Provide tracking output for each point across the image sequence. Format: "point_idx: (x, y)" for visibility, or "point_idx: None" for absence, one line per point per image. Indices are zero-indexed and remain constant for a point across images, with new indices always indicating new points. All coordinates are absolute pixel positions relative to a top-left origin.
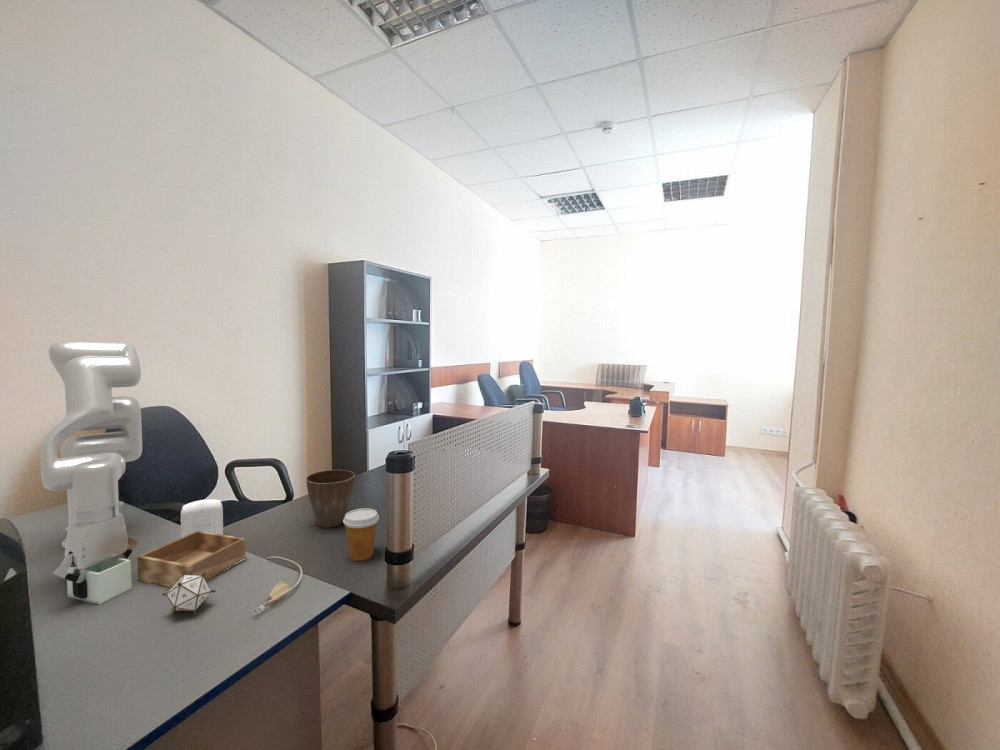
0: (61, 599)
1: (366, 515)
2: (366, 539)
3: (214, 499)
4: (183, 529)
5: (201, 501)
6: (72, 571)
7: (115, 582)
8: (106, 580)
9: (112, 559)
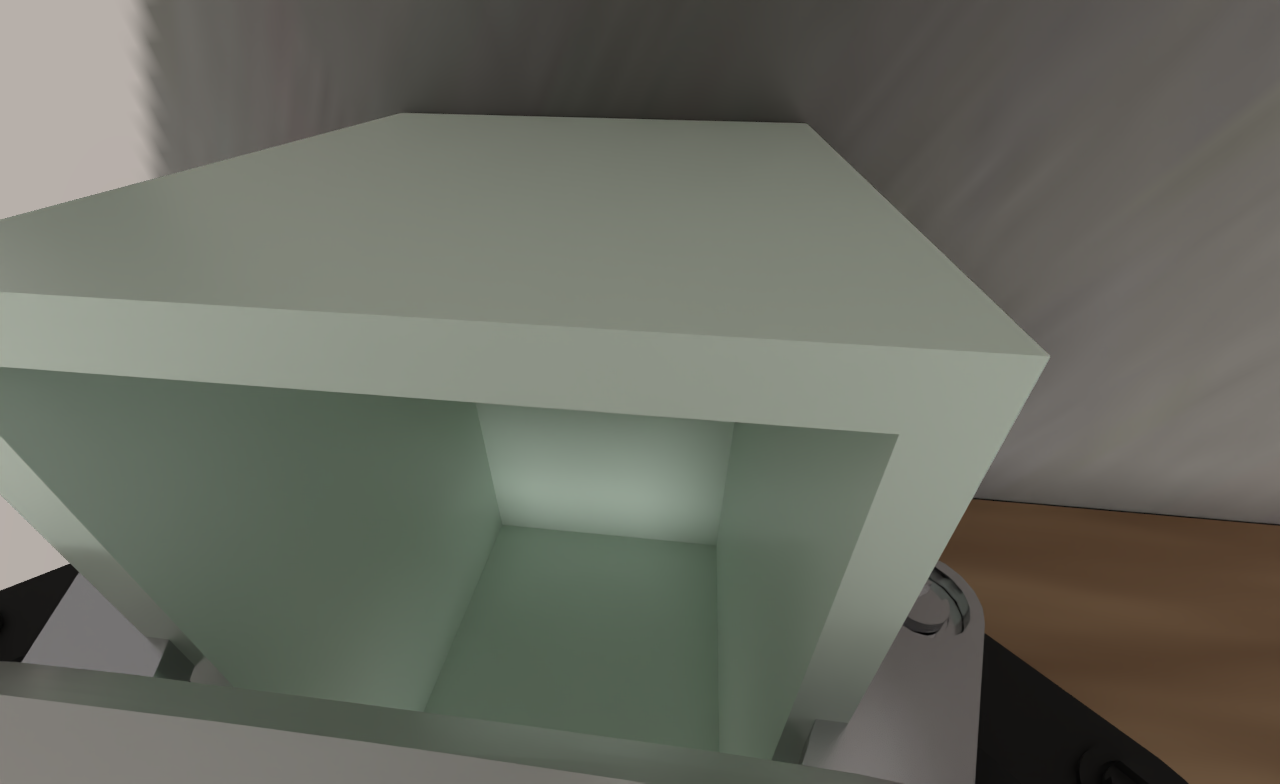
0: (341, 93)
1: None
2: None
3: None
4: None
5: None
6: (38, 654)
7: (591, 643)
8: (492, 705)
9: (761, 727)
